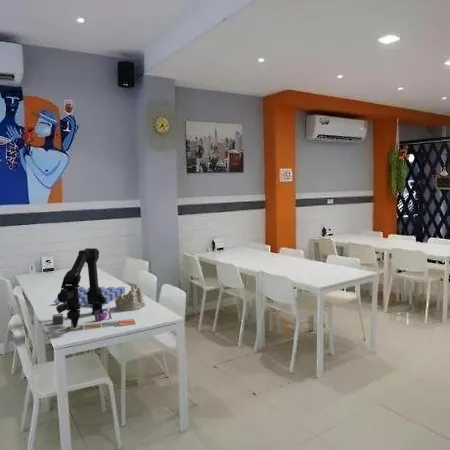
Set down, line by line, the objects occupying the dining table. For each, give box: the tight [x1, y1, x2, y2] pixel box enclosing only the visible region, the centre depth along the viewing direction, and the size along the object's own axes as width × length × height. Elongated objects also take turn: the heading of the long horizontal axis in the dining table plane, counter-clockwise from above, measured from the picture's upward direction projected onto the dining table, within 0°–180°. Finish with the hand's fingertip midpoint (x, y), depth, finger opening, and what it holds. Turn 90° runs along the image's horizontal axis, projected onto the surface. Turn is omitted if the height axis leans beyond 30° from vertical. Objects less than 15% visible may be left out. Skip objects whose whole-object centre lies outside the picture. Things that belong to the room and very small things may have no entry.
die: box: [52, 313, 64, 326], centre depth 234 cm, size 5×5×5 cm
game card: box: [93, 307, 112, 323], centre depth 240 cm, size 7×5×9 cm
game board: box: [65, 318, 136, 333], centre depth 230 cm, size 9×36×1 cm, turn 108°
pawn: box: [69, 318, 80, 330], centre depth 226 cm, size 5×5×7 cm
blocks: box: [53, 286, 126, 308], centre depth 285 cm, size 35×34×5 cm
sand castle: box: [114, 285, 146, 312], centre depth 263 cm, size 16×16×15 cm
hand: (74, 326), depth 226 cm, fingers open, 5 cm apart
